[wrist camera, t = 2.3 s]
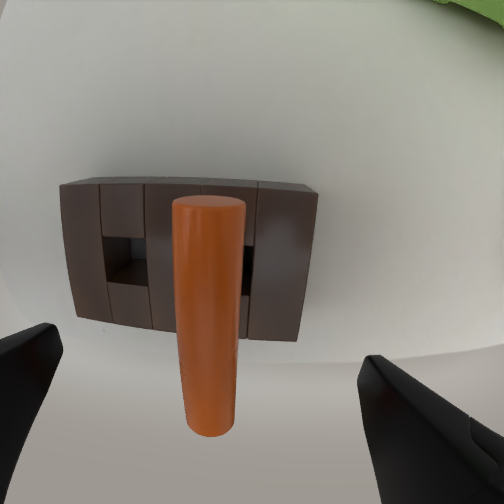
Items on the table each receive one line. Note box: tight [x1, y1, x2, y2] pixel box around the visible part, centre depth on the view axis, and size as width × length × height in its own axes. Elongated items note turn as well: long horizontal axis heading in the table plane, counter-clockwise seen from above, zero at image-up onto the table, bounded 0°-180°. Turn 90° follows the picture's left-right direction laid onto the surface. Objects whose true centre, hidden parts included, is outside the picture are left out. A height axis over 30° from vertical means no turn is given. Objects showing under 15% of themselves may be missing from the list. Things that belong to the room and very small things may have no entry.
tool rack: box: [60, 177, 318, 342], centre depth 15 cm, size 13×8×4 cm, turn 86°
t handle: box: [172, 195, 246, 437], centre depth 12 cm, size 2×8×10 cm, turn 176°
